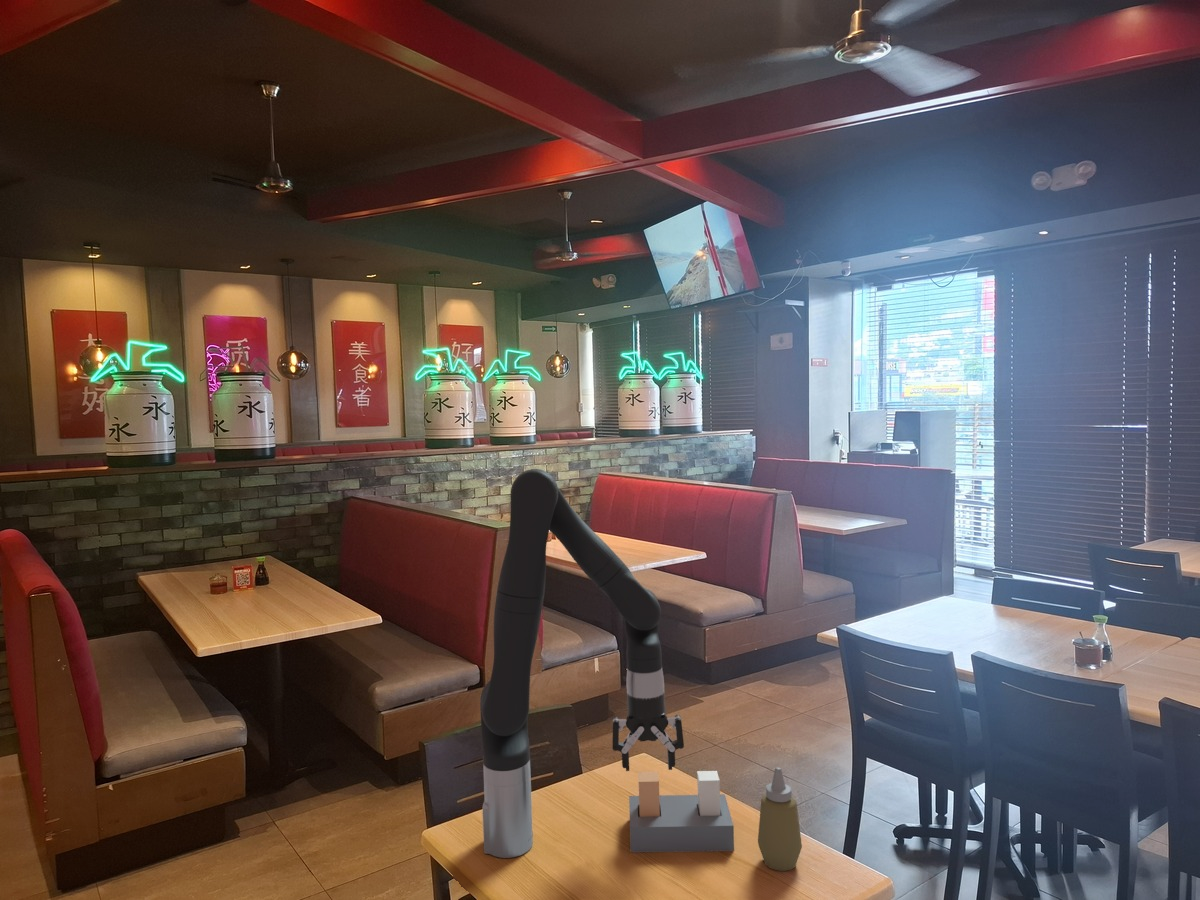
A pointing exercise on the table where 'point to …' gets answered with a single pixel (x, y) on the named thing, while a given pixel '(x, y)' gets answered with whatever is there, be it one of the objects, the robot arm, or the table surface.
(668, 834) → the block
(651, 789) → the terracotta plug
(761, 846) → the squeeze bottle
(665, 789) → the table surface
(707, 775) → the offwhite plug
